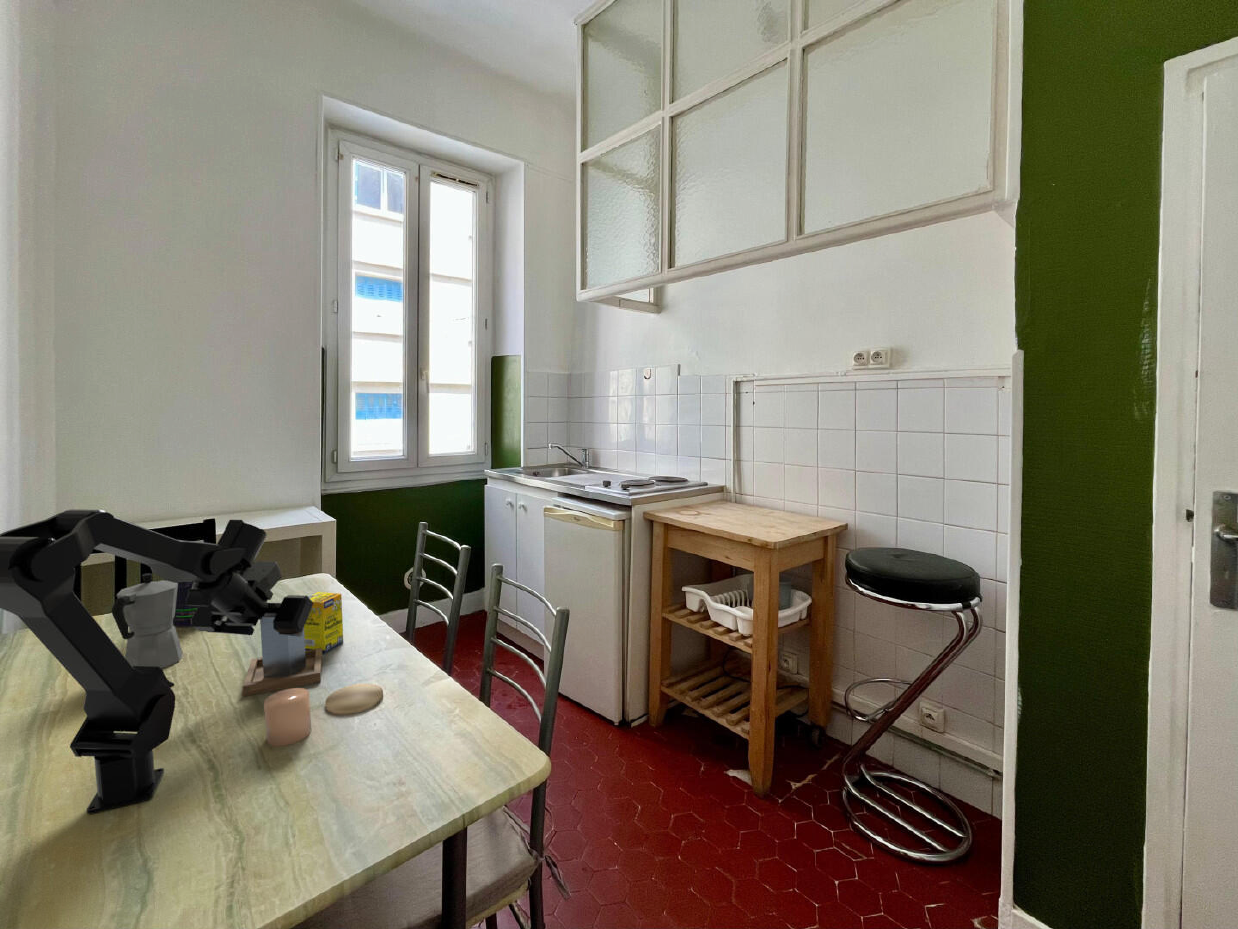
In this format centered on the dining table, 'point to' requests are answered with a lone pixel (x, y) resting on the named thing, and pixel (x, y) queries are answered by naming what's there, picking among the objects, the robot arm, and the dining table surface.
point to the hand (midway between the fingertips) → (276, 633)
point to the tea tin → (281, 651)
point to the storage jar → (183, 606)
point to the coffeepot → (148, 622)
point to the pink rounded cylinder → (287, 716)
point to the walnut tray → (305, 676)
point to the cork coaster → (354, 699)
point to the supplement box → (324, 622)
